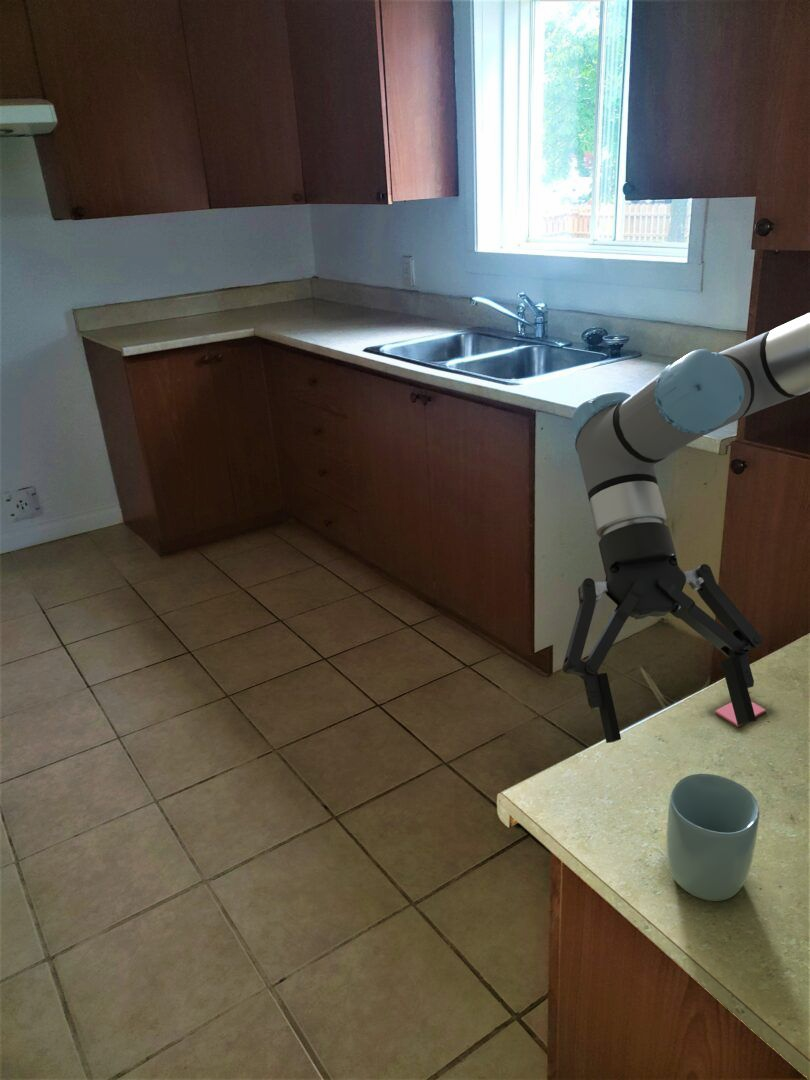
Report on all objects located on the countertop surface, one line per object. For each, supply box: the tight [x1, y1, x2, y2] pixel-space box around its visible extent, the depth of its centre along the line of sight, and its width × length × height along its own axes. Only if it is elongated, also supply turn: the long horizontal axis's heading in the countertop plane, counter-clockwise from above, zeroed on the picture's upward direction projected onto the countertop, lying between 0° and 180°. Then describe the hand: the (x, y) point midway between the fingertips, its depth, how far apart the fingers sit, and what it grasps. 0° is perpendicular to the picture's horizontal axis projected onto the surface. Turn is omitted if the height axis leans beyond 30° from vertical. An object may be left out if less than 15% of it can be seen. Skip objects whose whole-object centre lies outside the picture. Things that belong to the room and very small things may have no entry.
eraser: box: [714, 701, 767, 728], centre depth 100 cm, size 5×3×1 cm
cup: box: [665, 773, 760, 902], centre depth 77 cm, size 8×8×10 cm
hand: (680, 732), depth 80 cm, fingers open, 13 cm apart
